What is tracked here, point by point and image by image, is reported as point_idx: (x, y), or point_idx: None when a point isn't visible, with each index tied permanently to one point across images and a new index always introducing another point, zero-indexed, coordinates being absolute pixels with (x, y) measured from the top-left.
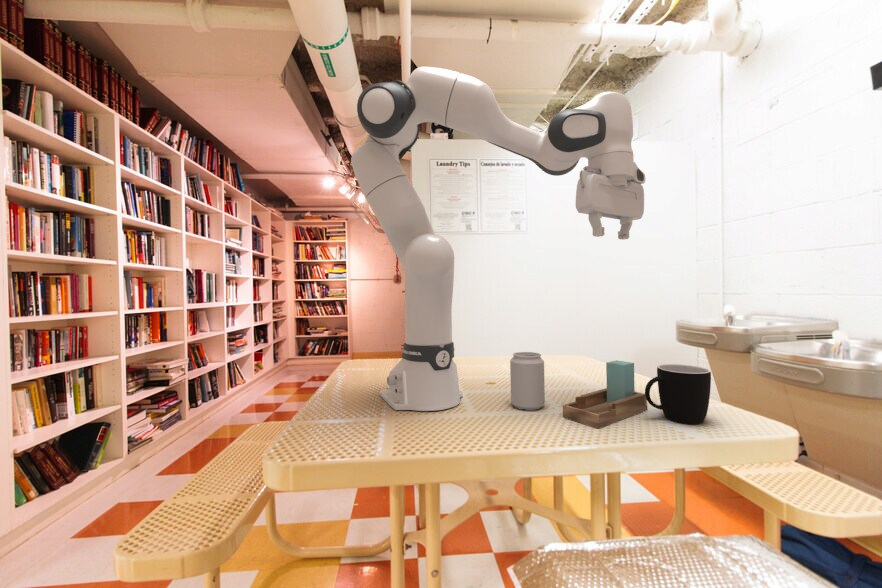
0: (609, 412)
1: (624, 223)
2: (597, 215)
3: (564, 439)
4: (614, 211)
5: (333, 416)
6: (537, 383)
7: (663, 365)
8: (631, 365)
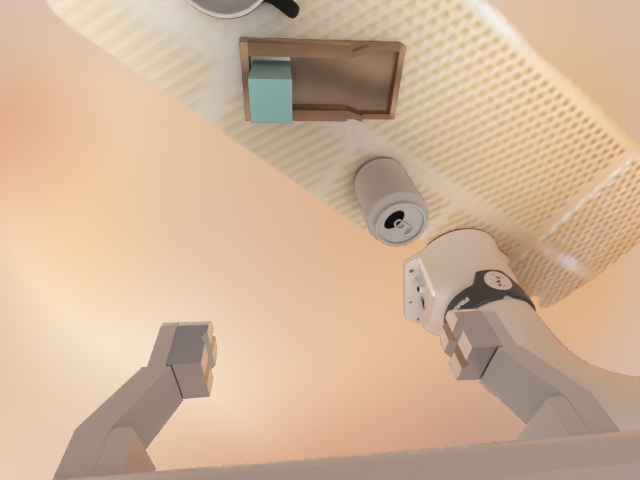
0: (372, 44)
1: (142, 449)
2: (601, 411)
3: (473, 50)
4: (451, 462)
5: (559, 275)
6: (399, 175)
7: (215, 12)
8: (259, 77)
